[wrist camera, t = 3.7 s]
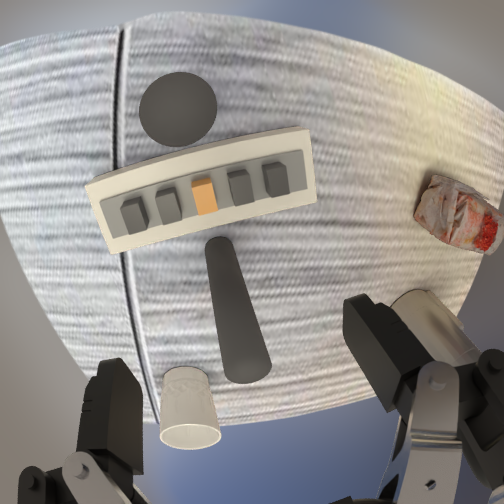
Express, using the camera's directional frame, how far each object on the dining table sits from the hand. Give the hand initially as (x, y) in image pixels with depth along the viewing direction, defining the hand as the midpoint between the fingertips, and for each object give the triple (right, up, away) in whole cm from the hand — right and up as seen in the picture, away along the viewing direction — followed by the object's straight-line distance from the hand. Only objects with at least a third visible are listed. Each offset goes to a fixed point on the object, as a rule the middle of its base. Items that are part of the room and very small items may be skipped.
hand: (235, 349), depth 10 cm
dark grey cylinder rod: (-3, +3, +22) cm, 22 cm away
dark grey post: (-5, +16, +14) cm, 22 cm away
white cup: (-9, -15, +31) cm, 36 cm away
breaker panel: (-4, +10, +18) cm, 21 cm away
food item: (+27, +10, +25) cm, 39 cm away
